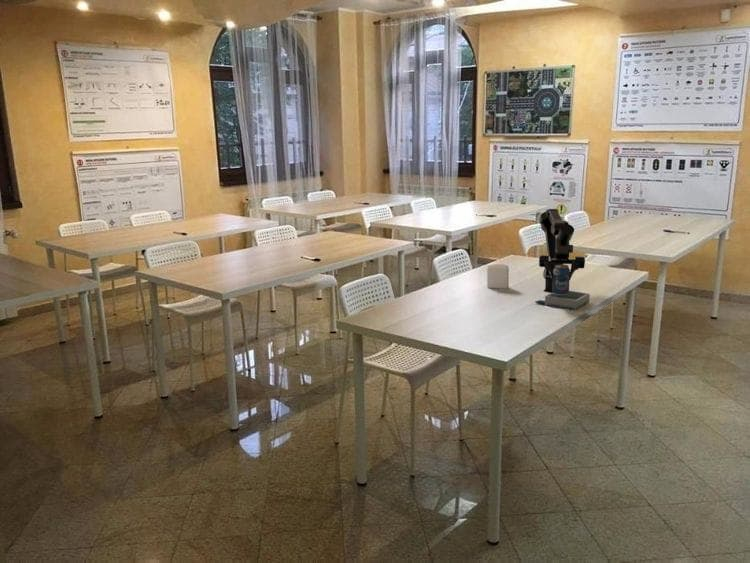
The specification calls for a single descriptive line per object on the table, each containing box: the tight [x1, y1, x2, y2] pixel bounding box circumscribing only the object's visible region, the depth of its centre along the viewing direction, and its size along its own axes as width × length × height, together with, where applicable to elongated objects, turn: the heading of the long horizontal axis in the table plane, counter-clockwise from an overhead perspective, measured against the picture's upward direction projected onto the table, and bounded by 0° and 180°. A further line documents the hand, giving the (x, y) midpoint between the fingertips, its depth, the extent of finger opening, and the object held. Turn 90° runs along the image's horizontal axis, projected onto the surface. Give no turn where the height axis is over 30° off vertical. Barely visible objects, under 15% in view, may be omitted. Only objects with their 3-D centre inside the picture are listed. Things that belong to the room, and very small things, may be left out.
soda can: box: [552, 264, 571, 295], centre depth 269 cm, size 7×7×12 cm
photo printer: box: [486, 262, 510, 290], centre depth 304 cm, size 10×4×12 cm, turn 70°
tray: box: [544, 290, 590, 311], centre depth 276 cm, size 14×14×4 cm
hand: (561, 279), depth 267 cm, fingers closed on soda can, 7 cm apart
